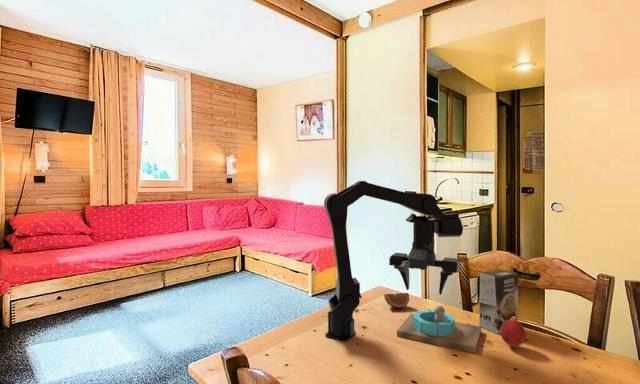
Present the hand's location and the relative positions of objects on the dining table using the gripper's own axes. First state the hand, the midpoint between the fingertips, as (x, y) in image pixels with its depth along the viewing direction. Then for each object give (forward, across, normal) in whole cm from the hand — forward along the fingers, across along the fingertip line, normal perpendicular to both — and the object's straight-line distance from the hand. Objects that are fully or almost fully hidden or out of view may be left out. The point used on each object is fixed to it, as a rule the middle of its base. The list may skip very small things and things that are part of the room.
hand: (423, 292), depth 100 cm
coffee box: (+12, +18, +13) cm, 25 cm away
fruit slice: (+11, -13, +14) cm, 22 cm away
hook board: (+11, +4, 0) cm, 12 cm away
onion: (+11, +22, +1) cm, 25 cm away
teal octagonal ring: (+10, +3, 0) cm, 10 cm away
